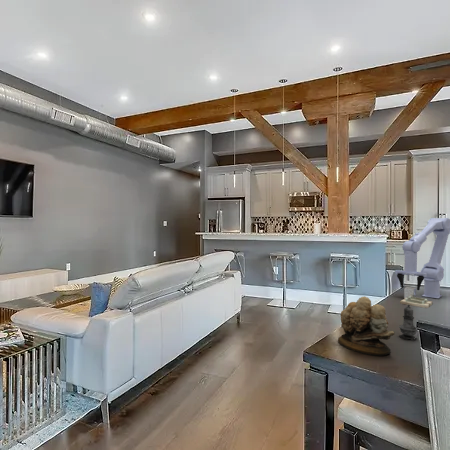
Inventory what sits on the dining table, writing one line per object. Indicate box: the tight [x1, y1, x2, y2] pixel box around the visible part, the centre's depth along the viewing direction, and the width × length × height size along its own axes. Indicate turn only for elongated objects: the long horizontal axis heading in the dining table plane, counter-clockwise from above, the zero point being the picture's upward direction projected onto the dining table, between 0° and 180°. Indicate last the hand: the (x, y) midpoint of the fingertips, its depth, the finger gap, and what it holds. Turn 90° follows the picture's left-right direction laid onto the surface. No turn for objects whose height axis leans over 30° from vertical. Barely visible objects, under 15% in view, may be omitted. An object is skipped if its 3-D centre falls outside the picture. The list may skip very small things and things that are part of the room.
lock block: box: [403, 286, 417, 299], centre depth 174 cm, size 4×4×6 cm
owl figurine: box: [337, 296, 395, 357], centre depth 108 cm, size 18×12×17 cm, turn 42°
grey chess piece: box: [398, 304, 418, 340], centre depth 117 cm, size 6×6×12 cm
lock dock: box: [399, 296, 434, 309], centre depth 165 cm, size 11×12×2 cm
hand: (410, 288), depth 174 cm, fingers open, 7 cm apart
